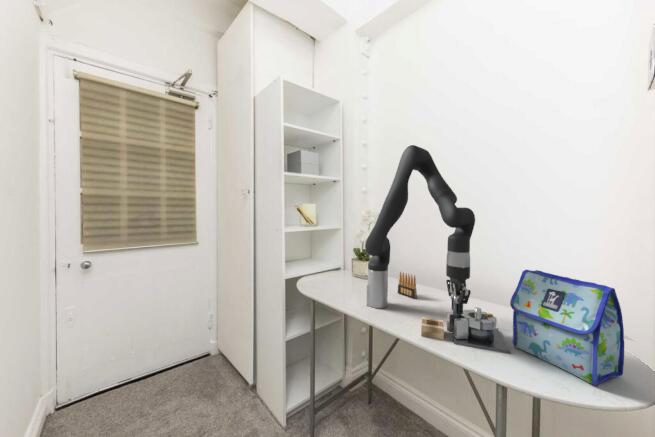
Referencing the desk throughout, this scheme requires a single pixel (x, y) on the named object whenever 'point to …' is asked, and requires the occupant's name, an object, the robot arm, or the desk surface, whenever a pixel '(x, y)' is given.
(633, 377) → the desk surface
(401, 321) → the desk surface
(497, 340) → the chuck base
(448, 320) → the grey cube ring
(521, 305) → the lunch bag
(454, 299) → the dark grey cylinder
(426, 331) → the holder
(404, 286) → the ammunition clip
